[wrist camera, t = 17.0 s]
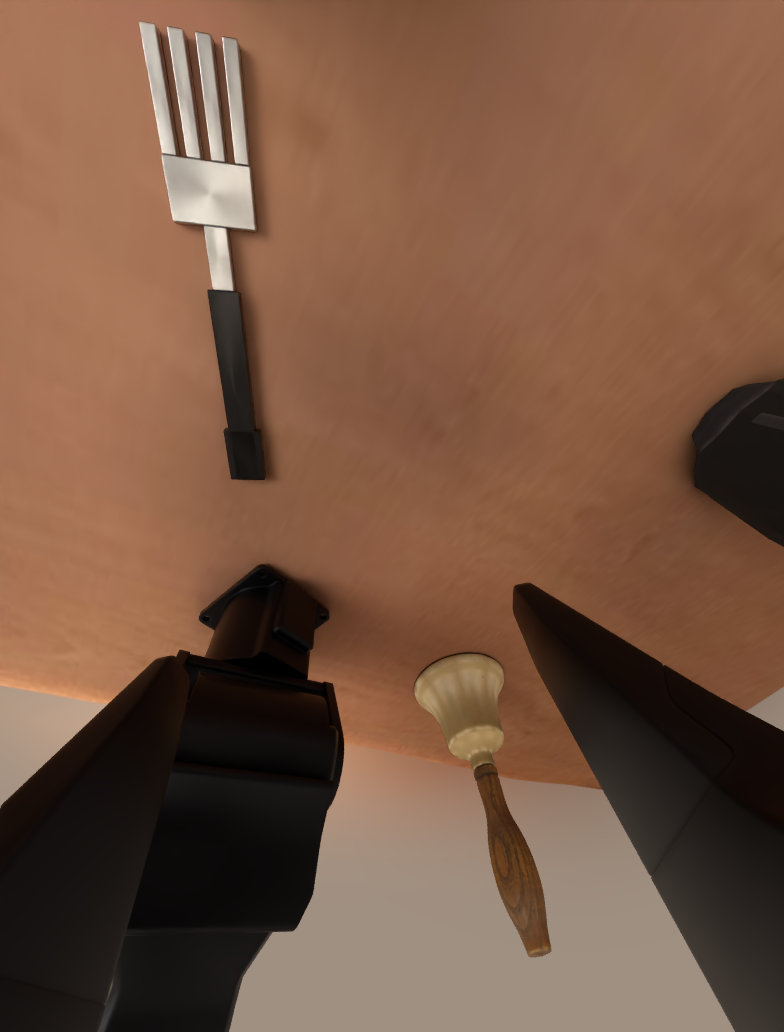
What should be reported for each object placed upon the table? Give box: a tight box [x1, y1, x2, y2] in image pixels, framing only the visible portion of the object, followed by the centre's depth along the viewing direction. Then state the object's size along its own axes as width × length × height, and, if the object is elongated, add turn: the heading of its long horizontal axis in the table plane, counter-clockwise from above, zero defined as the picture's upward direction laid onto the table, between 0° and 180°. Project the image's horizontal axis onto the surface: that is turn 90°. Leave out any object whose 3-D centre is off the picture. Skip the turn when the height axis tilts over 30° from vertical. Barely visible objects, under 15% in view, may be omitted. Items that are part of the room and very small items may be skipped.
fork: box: [139, 21, 266, 480], centre depth 16 cm, size 16×3×1 cm, turn 176°
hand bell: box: [414, 654, 551, 957], centre depth 26 cm, size 8×8×16 cm
